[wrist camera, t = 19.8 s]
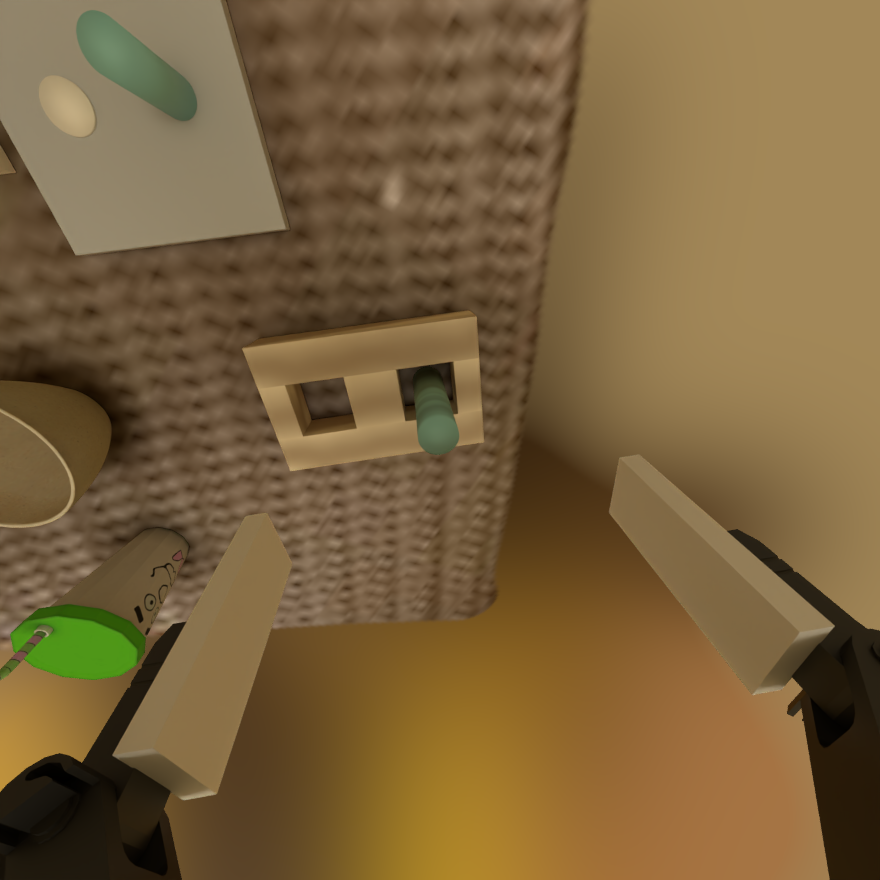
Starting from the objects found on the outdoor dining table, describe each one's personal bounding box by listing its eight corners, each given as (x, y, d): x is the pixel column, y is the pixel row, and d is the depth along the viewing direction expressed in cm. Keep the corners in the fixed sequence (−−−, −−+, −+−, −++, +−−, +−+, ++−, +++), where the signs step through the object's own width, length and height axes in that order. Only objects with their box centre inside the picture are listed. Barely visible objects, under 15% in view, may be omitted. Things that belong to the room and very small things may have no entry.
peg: (410, 368, 28) (414, 421, 19) (439, 364, 28) (456, 414, 19) (415, 396, 29) (421, 457, 20) (443, 391, 29) (461, 450, 20)
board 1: (-84, -63, 16) (-329, -223, 10) (200, -91, 16) (103, -258, 11) (89, 255, 22) (-9, 255, 17) (290, 229, 22) (256, 222, 17)
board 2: (258, 338, 25) (241, 348, 23) (469, 310, 26) (476, 316, 23) (300, 452, 30) (290, 471, 28) (476, 426, 31) (483, 442, 28)
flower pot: (11, 325, 23) (-131, 350, 17) (165, 406, 27) (95, 452, 21) (-20, 428, 27) (-149, 482, 20) (122, 488, 30) (50, 549, 24)
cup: (211, 574, 36) (103, 755, 23) (127, 569, 35) (-39, 760, 22) (202, 517, 33) (68, 694, 19) (108, 510, 31) (-104, 696, 18)
